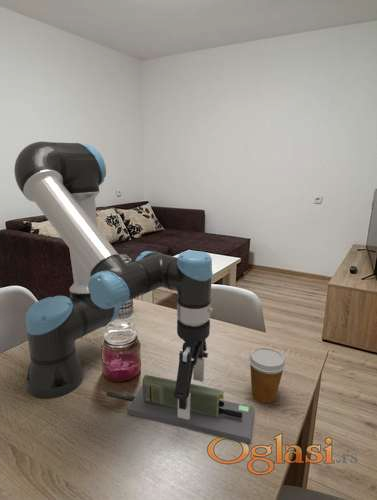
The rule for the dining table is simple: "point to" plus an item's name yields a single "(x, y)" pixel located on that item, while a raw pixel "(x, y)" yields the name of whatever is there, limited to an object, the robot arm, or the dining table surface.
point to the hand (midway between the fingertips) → (191, 397)
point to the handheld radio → (200, 397)
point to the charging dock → (195, 417)
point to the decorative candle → (127, 307)
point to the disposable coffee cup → (266, 373)
